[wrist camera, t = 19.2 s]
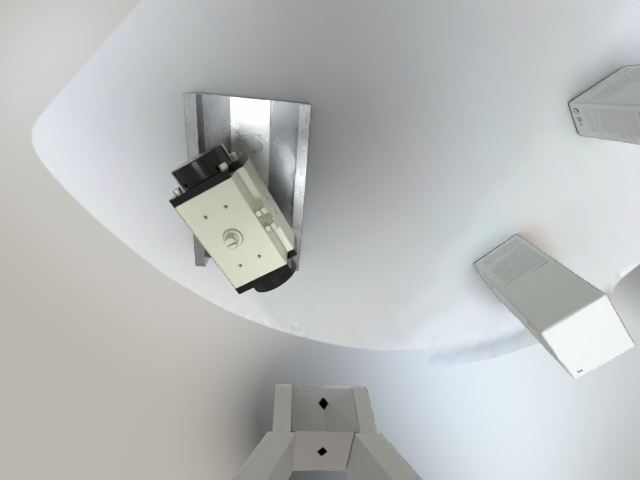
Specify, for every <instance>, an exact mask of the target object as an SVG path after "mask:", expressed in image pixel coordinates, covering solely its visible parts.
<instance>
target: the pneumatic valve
mask: <svg viewBox="0 0 640 480" xmlns="http://www.w3.org/2000/svg"><path fill="white" fill-rule="evenodd" d="M171 174H172V175H173V177H174V178H175V179H176V181H177V182H178V184H179V185H180V186H181V188H182V189H180V187H178V188H176V189H175V190H173V193H174V194H175V196H174V197H172V198H171V199H170V200H169V201H170V203H171V204H172V205H173V207H174V208H175V209H176V211H177V212H178V213H179V215H180V216H181V217H182V219H183V220H184V221H185V223H186V224H187V225H188V227H189V228H190V229H191V231H192V232H193V233H194V235H195V236H196V237H197V239H198V240H199V241H200V243H201V244H202V245H203V247H204V248H205V249H206V251H207V252H208V253H209V255H210V256H211V257H212V259H213V260H214V261H215V263H216V264H217V265H218V267H219V268H220V269H221V271H222V272H223V273H224V275H225V276H226V277H227V279H228V280H229V281H230V283H231V284H232V285H233V287H234V288H235V289H236V291H237V292H238V293H239V294H241V293H243V292H245V291H247V290H249V289H251V288H254V289H255V290H256V291H257V292H267V291H270V290H273V289H275V288H277V287H279V286H280V285H282V284H283V283H285V282H286V281H287V280H288V279H289V278H290V277H291V276H292V275H293V274H294V272H295V270H296V268H297V262H296V260H295V259H294V257H293V256H295V255H297V254H298V247H297V237H296V236H295V234H294V232H293V231H292V229H291V227H290V226H289V224H288V222H287V221H286V219H285V217H284V216H283V214H282V212H281V211H280V209H279V207H278V206H277V204H276V202H275V201H274V199H273V197H272V196H271V194H270V192H269V191H268V189H267V187H266V186H265V184H264V182H263V181H262V179H261V177H260V176H259V174H258V172H257V171H256V169H255V167H254V166H253V164H252V163H251V161H250V159H249V158H248V156H247V154H246V153H245V151H244V152H242V153H238V154H236V153H235V152H232V153H231V154H229V153H228V152H227V150H226V148H225V147H224V145H223V144H222V143H220V144H218V145H215V146H213V147H212V148H210V149H208V150H206V151H204V152H202V153H201V154H199V155H197V156H195V157H194V158H192V159H190V160H189V161H187V162H185V163H184V164H182V165H180V166H179V167H177V168H176V169H174V170H173V171H172V172H171Z"/></svg>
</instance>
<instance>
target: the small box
mask: <svg viewBox="0 0 640 480" xmlns="http://www.w3.org/2000/svg"><path fill="white" fill-rule="evenodd" d="M473 265H474V267H475V268H476V269H477V271H478V272H479V273H480V275H481V276H482V277H483V279H484V280H485V281H486V283H487V284H488V285H489V287H490V288H491V289H492V290H493V292H494V293H495V294H496V296H497V297H498V298H499V299H500V301H501V302H502V303H503V304H504V305H505V306H506V307H507V308H508V309H509V310H510V311H511V312H512V313H513V314H514V315H515V316H516V317H517V318H518V319H519V320H520V322H521V323H522V324H523V325H524V326H525V327H526V328H527V329H528V330H529V331H530V332H531V333H532V334H533V336H534V337H535V338H536V339H537V340H538V341H539V342H540V343H541V344H542V345H543V346H544V347H545V349H546V350H547V351H548V352H549V353H550V354H551V355H552V356H553V357H554V358H555V359H556V360H557V361H558V362H559V363H560V365H562V367H563V368H564V369H565V370H566V371H567V372H568V373H569V374H570V375H571V376H572V377H573V378H574V379H575V378H578V377H580V376H582V375H584V374H586V373H588V372H589V371H591V370H593V369H595V368H597V367H599V366H600V365H602V364H604V363H606V362H608V361H609V360H611V359H613V358H615V357H616V356H618V355H620V354H622V353H623V352H625V351H627V350H628V349H630V348H632V347H634V346H635V344H634V342H633V340H632V339H631V337H630V335H629V333H628V331H627V330H626V328H625V326H624V324H623V323H622V321H621V319H620V317H619V316H618V314H617V312H616V310H615V309H614V307H613V305H612V303H611V302H610V300H609V298H608V296H607V294H605V293H603V292H602V291H600V290H599V289H597V288H596V287H594V286H593V285H591V284H590V283H588V282H587V281H585V280H584V279H583V278H581V277H580V276H578V275H577V274H575V273H574V272H572V271H571V270H569V269H568V268H566V267H565V266H563V265H562V264H560V263H559V262H557V261H556V260H555V259H553V258H552V257H550V256H549V255H547V254H546V253H544V252H543V251H541V250H540V249H538V248H537V247H535V246H534V245H533V244H531V243H530V242H528V241H527V240H525V239H524V238H522V237H521V236H519V235H518V234H517V235H514V236H513V237H511V238H510V239H509V240H507V241H506V242H504V243H503V244H501V245H500V246H499V247H497V248H496V249H494V250H493V251H491V252H490V253H488V254H487V255H485V256H484V257H483V258H481V259H480V260H478V261H477V262H476V263H474V264H473Z"/></svg>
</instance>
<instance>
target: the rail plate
mask: <svg viewBox="0 0 640 480" xmlns="http://www.w3.org/2000/svg"><path fill="white" fill-rule="evenodd" d="M183 95H184V109H185V123H186V137H187V151H188V161H189V160H190V159H192V158H194V157H195V156H197V155H199V154H201V153H202V152H204V151H206V150H208V149H210V148H212V147H213V146H215V145H218V144H220V143H222V144H223V145H224V147H225V148H226V150H227V152H228V153H229V154H231V153H232V152H235V153H236V154H238V153H242V152H244V151H245V153H246V154H247V156H248V158H249V159H250V161H251V163H252V164H253V166H254V167H255V169H256V171H257V172H258V174H259V176H260V177H261V179H262V181H263V182H264V184H265V186H266V187H267V189H268V191H269V192H270V194H271V196H272V197H273V199H274V201H275V202H276V204H277V206H278V207H279V209H280V211H281V212H282V214H283V216H284V217H285V219H286V221H287V222H288V224H289V226H290V227H291V229H292V231H293V232H294V234H295V236H296V237H297V247H298V254H297V255H295V256H293V257H294V259H295V260H296V262H297V268H296V270H295V271H298V270H299V257H300V244H301V231H302V218H303V205H304V192H305V179H306V166H307V153H308V140H309V127H310V114H311V105H310V104H308V103H298V102H287V101H277V100H267V99H256V98H246V97H236V96H225V95H215V94H205V93H194V92H192V93H183ZM193 236H194V250H195V264H196V266H206V264H207V262H208V260H209V258H212V257H211V256H210V255H209V253H208V252H207V251H206V249H205V248H204V247H203V245H202V244H201V243H200V241H199V240H198V239H197V237H196V236H195V235H194V233H193Z"/></svg>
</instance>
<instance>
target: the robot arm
mask: <svg viewBox="0 0 640 480" xmlns="http://www.w3.org/2000/svg"><path fill="white" fill-rule="evenodd" d="M301 470H332V471H333V470H334V471H346V473H347V475H348V476H349V478H350V480H423V479H421V477H420V476H419V475H418V474H417V473H416V471H415V470H414V469H413V468H412V467H411V466H410V465H409V463H408V462H407V461H406V460H405V459H404V458H403V457H402V456H401V455H400V453H399V452H398V451H397V450H396V449H395V448H394V447H393V445H392V444H391V443H390V442H389V441H388V440H387V439H386V437H385V436H384V435H383V434H382V433H377V430H376V424H375V420H374V416H373V411H372V407H371V402H370V398H369V393H368V389H367V388H366V387H350V386H305V385H282V384H277V385H276V391H275V404H274V419H273V432H267V434H266V435H265V436H264V438H263V439H262V440H261V442H260V443H259V444H258V446H257V447H256V449H255V450H254V451H253V453H252V454H251V455H250V457H249V458H248V459H247V461H246V462H245V463H244V465H243V466H242V467H241V469H240V470H239V471H238V473H237V474H236V475H235V477H234V478H233V479H232V480H288V479H289V477H290V475H291V473H292V471H301Z"/></svg>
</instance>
